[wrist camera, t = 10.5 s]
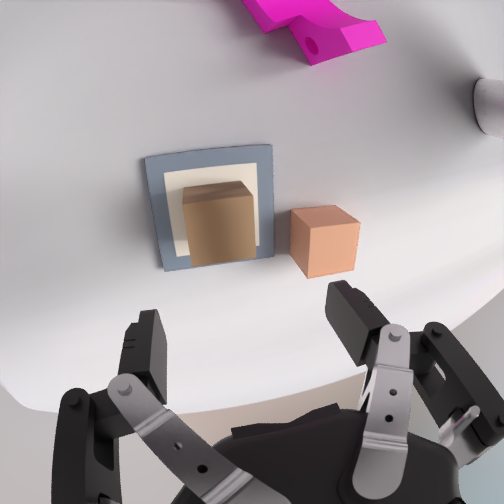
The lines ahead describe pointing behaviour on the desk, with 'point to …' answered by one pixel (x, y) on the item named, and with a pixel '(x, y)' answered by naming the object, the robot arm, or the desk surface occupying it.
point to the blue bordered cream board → (201, 173)
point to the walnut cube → (219, 222)
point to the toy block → (316, 26)
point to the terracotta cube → (323, 240)
